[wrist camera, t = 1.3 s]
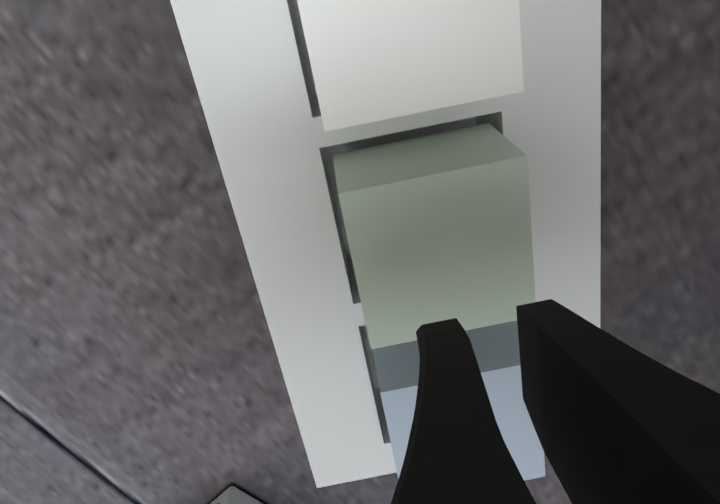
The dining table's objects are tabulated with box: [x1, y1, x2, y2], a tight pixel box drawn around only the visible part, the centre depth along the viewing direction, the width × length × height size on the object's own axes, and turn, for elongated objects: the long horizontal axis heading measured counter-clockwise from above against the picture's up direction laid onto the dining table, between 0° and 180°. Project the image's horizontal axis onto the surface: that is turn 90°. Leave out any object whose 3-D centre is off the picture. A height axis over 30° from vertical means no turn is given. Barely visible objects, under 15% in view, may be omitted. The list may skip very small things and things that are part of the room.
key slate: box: [373, 321, 545, 480], centre depth 17 cm, size 4×4×3 cm
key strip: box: [170, 0, 601, 488], centre depth 16 cm, size 10×24×3 cm, turn 10°
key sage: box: [333, 123, 536, 349], centre depth 15 cm, size 4×4×3 cm
